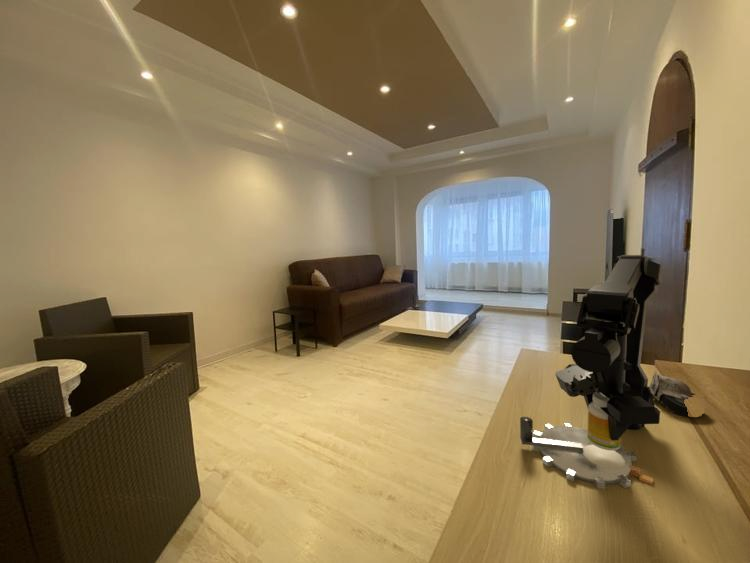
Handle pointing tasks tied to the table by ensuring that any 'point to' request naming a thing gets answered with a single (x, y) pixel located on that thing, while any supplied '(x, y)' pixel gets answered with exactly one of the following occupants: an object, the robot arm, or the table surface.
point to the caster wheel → (671, 393)
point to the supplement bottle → (600, 424)
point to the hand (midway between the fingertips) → (604, 430)
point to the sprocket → (579, 454)
